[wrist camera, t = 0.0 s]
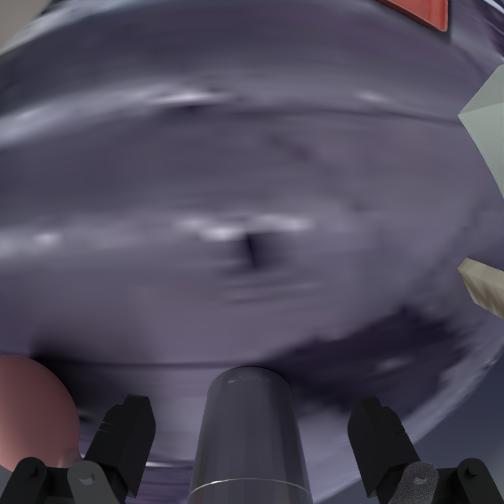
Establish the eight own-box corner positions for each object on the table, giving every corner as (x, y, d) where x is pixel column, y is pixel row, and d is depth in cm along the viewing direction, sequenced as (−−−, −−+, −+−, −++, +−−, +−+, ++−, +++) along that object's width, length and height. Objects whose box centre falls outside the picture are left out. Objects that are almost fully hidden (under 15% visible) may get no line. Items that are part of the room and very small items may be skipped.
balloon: (102, 457, 32) (69, 528, 17) (4, 373, 30) (-52, 425, 15) (147, 418, 30) (108, 516, 15) (25, 311, 28) (-59, 367, 12)
